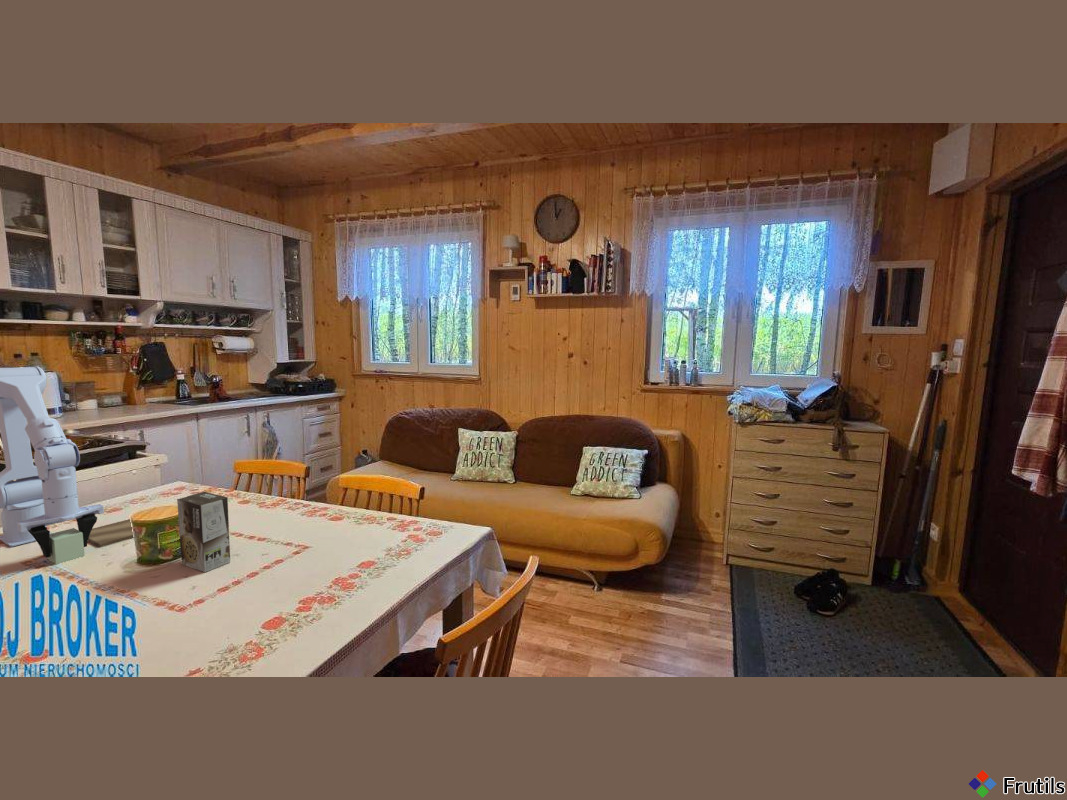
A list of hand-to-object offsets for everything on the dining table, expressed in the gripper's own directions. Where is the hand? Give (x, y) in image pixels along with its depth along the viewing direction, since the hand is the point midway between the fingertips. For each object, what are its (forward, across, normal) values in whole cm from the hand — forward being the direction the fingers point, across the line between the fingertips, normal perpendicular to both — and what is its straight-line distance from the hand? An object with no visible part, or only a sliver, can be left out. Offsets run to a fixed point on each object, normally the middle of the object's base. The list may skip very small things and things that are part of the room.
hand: (65, 550), depth 114 cm
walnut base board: (+2, +13, +7) cm, 15 cm away
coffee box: (+2, +16, -29) cm, 33 cm away
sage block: (+2, 0, 0) cm, 2 cm away
